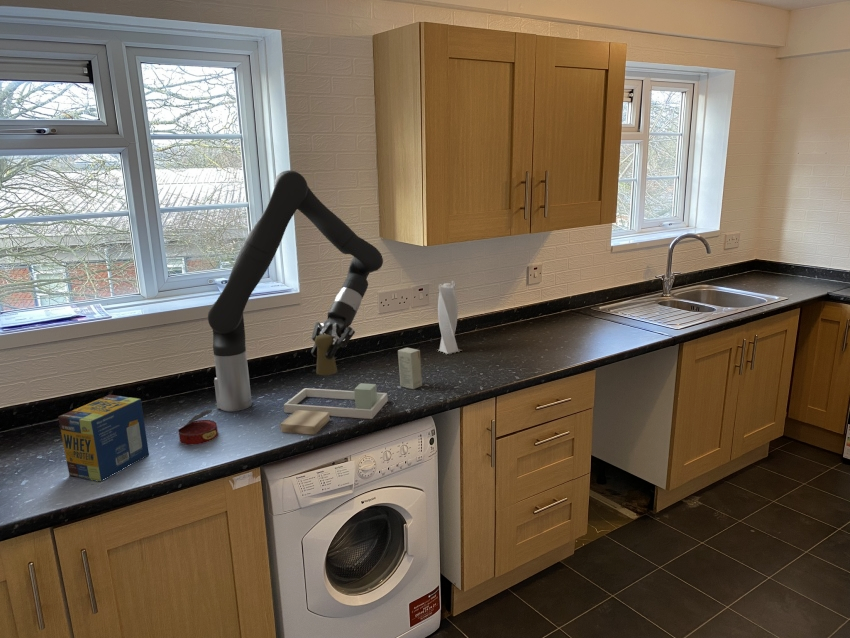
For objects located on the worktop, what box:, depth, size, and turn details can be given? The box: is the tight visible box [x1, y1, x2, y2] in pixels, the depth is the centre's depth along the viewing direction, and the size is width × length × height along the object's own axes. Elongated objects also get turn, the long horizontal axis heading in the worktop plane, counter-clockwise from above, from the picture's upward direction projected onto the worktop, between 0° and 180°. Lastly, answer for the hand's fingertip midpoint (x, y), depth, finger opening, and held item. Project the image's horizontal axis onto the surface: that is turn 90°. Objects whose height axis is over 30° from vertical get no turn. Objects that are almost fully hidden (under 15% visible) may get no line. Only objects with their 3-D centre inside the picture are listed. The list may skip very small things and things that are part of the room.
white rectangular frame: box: [283, 387, 388, 420], centre depth 186 cm, size 27×14×2 cm, turn 75°
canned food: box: [177, 409, 219, 446], centre depth 168 cm, size 11×10×10 cm
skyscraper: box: [437, 279, 463, 355], centre depth 234 cm, size 8×8×28 cm
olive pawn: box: [314, 333, 338, 376], centre depth 179 cm, size 6×6×11 cm
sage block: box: [353, 382, 378, 410], centre depth 183 cm, size 5×5×7 cm
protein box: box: [57, 394, 150, 482], centre depth 152 cm, size 10×15×16 cm
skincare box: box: [397, 347, 423, 390], centre depth 200 cm, size 6×4×12 cm
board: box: [279, 410, 331, 436], centre depth 173 cm, size 10×10×2 cm
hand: (320, 356), depth 177 cm, fingers closed on olive pawn, 5 cm apart
